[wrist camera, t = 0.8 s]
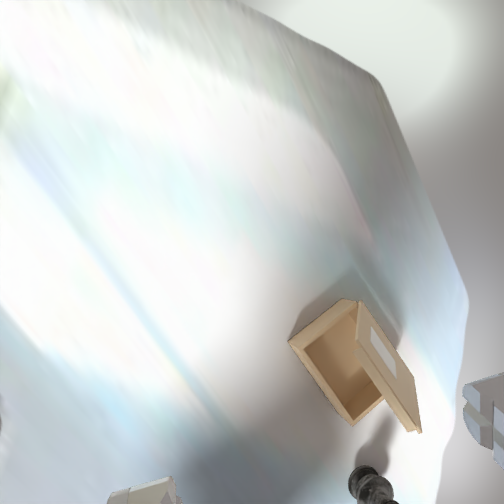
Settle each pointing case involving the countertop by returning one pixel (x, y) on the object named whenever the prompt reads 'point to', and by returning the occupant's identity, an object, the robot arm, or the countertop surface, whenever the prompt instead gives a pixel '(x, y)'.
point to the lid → (386, 369)
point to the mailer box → (337, 361)
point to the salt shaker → (370, 487)
